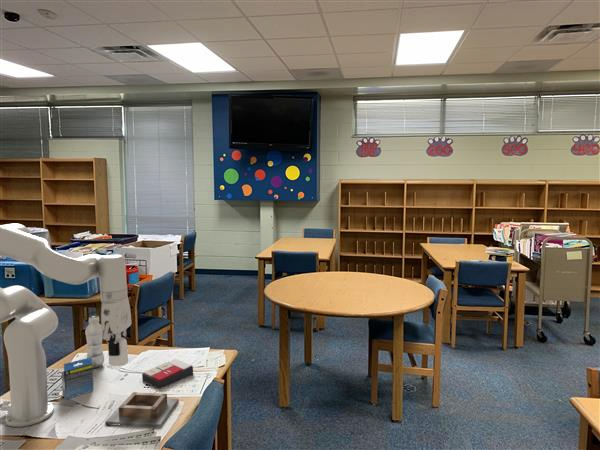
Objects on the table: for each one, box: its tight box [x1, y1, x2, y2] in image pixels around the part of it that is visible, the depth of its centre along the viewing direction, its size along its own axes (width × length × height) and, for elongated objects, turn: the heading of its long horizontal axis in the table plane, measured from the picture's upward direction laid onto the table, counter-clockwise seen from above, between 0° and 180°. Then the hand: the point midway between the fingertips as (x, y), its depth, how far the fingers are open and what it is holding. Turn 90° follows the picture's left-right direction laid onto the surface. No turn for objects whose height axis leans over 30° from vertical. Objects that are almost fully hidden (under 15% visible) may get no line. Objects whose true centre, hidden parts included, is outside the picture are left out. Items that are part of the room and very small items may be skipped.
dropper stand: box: [104, 391, 179, 428], centre depth 130 cm, size 17×15×4 cm
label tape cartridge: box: [61, 357, 94, 400], centre depth 141 cm, size 9×4×12 cm, turn 132°
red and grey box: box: [141, 358, 194, 390], centre depth 154 cm, size 11×4×15 cm
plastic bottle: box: [84, 315, 105, 369], centre depth 162 cm, size 6×7×20 cm
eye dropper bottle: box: [107, 333, 129, 367], centre depth 128 cm, size 4×6×12 cm
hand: (117, 352), depth 128 cm, fingers closed on eye dropper bottle, 3 cm apart
